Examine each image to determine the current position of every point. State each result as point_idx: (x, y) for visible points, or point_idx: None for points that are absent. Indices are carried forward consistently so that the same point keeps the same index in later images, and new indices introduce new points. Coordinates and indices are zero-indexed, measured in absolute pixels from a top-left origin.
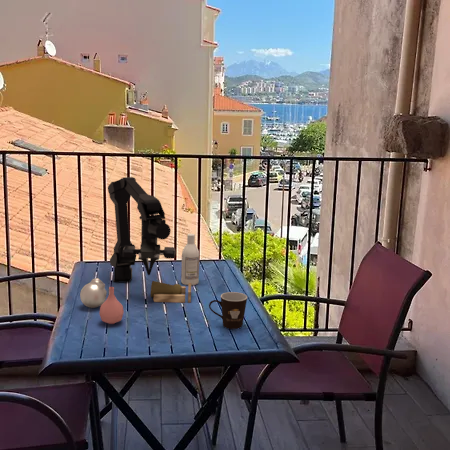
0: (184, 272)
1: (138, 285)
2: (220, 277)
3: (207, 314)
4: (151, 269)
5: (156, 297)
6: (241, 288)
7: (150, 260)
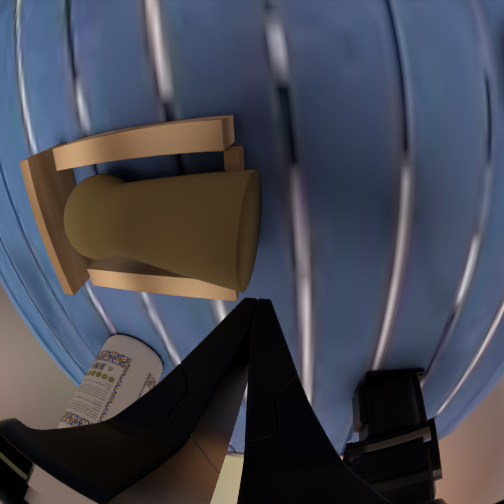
0: (124, 382)
1: (334, 350)
2: (84, 369)
3: (10, 44)
4: (205, 339)
5: (207, 119)
6: (12, 292)
7: (146, 471)
